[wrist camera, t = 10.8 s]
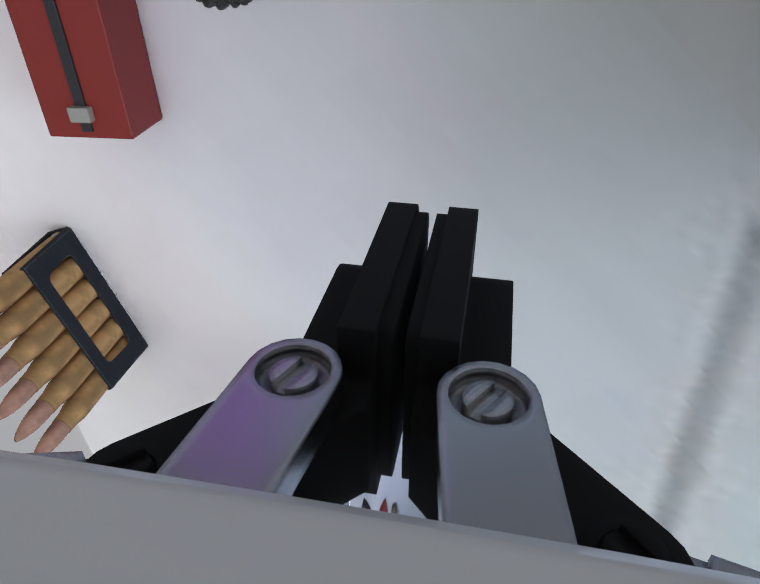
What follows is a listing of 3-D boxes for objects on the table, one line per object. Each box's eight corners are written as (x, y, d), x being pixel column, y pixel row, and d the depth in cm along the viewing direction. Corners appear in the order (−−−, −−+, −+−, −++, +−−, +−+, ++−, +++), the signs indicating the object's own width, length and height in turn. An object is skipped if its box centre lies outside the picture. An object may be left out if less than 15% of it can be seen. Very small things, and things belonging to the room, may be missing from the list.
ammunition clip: (48, 231, 42) (-91, 339, 32) (68, 225, 41) (-66, 333, 32) (129, 350, 47) (31, 473, 37) (148, 346, 47) (54, 471, 37)
